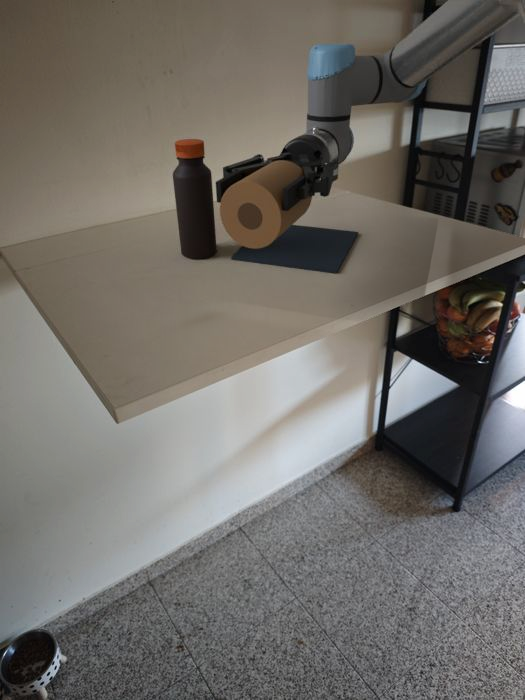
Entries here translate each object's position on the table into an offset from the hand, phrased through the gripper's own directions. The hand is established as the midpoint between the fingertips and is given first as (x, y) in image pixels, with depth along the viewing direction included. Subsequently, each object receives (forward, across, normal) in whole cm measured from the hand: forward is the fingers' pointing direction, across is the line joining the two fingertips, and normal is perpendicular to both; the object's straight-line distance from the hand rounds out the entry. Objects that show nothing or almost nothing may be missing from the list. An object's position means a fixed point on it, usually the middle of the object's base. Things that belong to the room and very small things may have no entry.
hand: (251, 196), depth 65 cm
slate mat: (-28, -4, +18) cm, 34 cm away
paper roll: (-5, 0, +2) cm, 6 cm away
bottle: (-18, -20, +18) cm, 33 cm away
